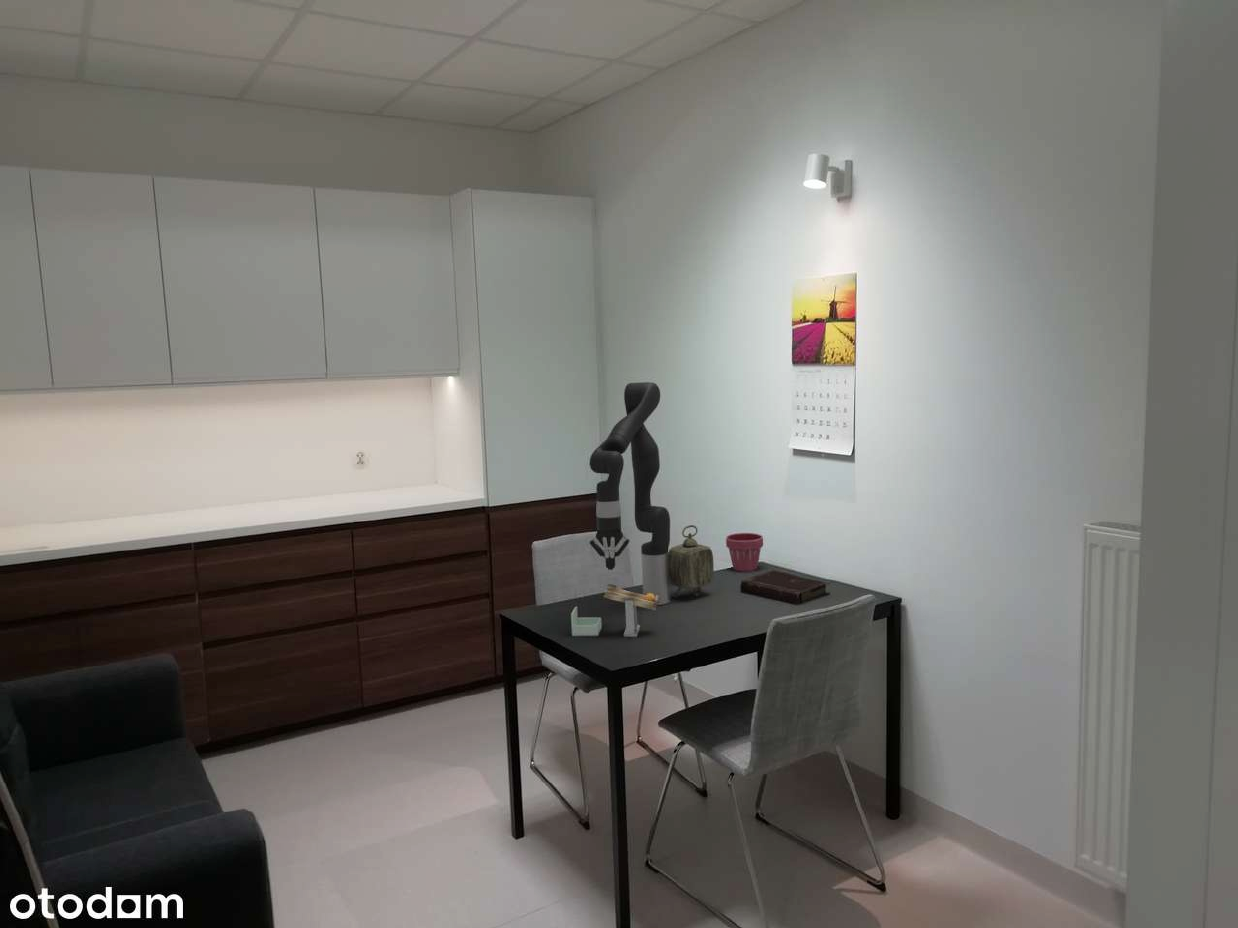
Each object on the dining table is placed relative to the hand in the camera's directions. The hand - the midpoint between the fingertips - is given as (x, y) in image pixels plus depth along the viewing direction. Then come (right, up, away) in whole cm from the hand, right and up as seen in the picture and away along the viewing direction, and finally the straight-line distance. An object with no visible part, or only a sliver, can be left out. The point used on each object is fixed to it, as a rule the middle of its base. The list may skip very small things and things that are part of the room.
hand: (610, 569), depth 280 cm
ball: (+12, -8, -8) cm, 16 cm away
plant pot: (+52, -8, +67) cm, 85 cm away
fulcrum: (+7, -19, -6) cm, 21 cm away
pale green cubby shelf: (-7, -19, -4) cm, 21 cm away
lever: (+6, -9, -4) cm, 11 cm away
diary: (+60, -13, +31) cm, 69 cm away
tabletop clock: (+28, -13, +32) cm, 45 cm away
